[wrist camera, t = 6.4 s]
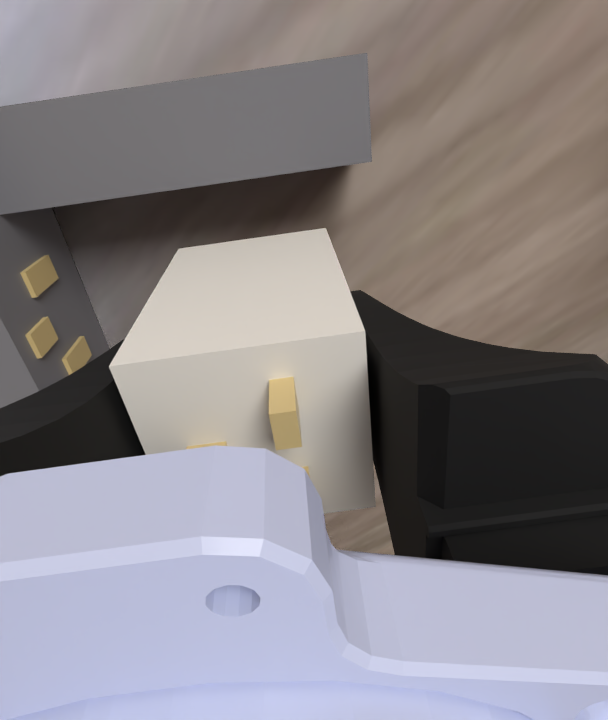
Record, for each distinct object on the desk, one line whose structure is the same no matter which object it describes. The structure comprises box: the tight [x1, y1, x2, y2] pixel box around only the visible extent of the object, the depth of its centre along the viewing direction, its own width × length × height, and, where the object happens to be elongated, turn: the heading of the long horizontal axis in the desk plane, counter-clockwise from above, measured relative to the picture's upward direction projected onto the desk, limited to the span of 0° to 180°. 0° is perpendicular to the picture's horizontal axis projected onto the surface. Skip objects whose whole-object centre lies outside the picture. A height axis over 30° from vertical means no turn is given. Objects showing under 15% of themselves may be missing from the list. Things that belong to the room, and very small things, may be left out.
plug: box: [109, 228, 376, 514], centre depth 10 cm, size 4×4×7 cm
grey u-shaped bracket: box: [0, 53, 372, 408], centre depth 15 cm, size 12×12×5 cm
